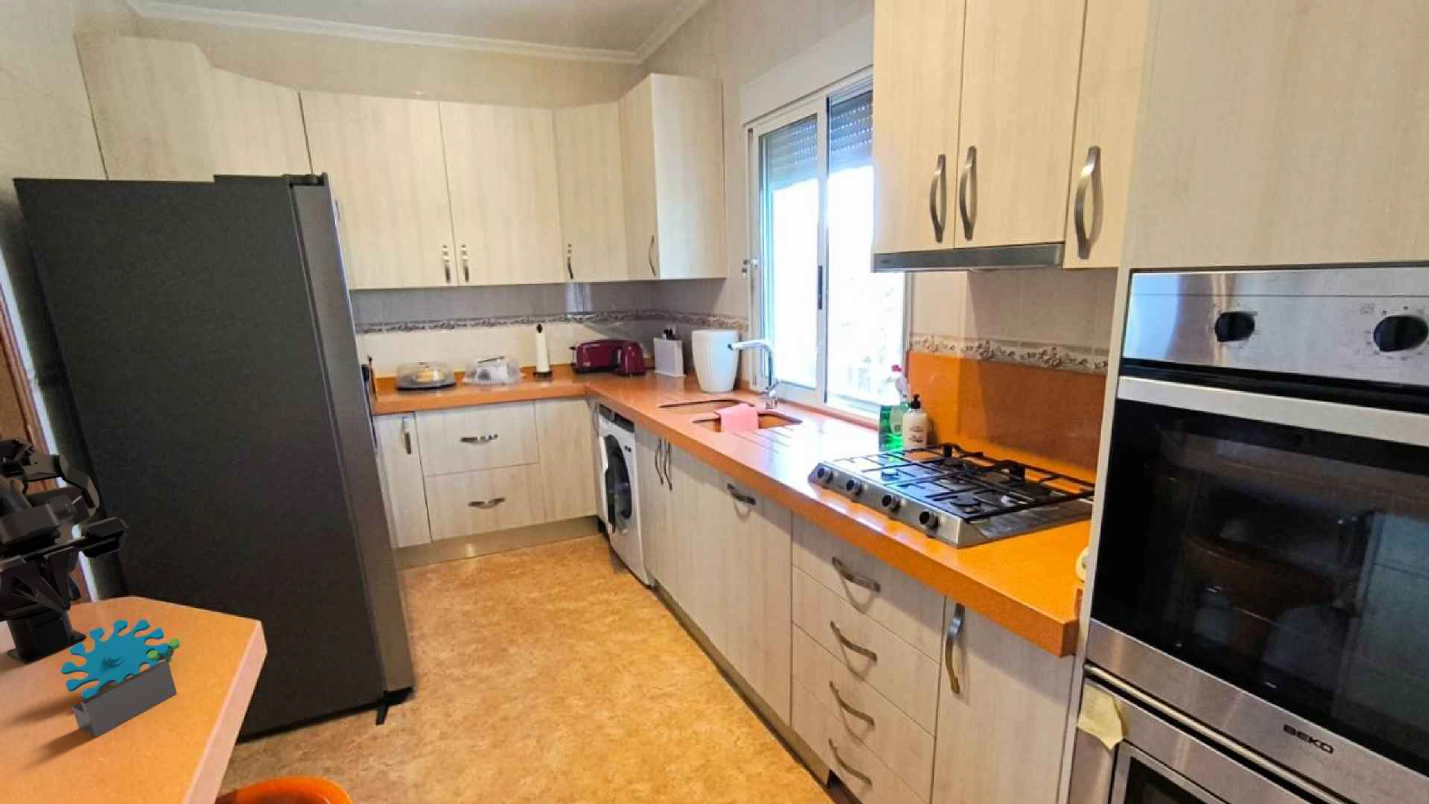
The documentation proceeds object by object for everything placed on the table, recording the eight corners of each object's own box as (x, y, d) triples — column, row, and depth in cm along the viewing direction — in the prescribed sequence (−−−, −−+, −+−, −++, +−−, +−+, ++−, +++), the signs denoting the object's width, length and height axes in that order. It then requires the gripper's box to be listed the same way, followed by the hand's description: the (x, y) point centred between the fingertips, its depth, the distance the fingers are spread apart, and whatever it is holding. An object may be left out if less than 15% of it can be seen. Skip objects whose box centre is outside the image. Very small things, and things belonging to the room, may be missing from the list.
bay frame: (79, 728, 71) (68, 695, 70) (159, 686, 78) (150, 655, 77) (95, 737, 70) (85, 703, 69) (177, 693, 76) (168, 662, 76)
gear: (52, 709, 72) (65, 626, 77) (66, 721, 76) (78, 642, 81) (175, 681, 79) (180, 607, 83) (182, 694, 83) (186, 622, 87)
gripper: (-108, 513, 70) (-39, 618, 68) (104, 462, 86) (165, 545, 84) (-107, 564, 75) (-43, 664, 73) (93, 507, 91) (150, 587, 89)
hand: (66, 610), depth 79 cm, fingers closed
